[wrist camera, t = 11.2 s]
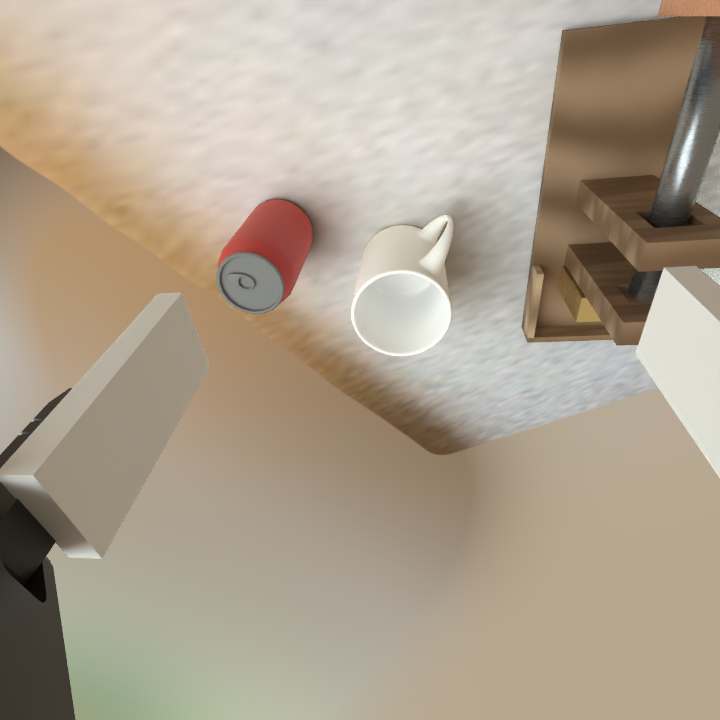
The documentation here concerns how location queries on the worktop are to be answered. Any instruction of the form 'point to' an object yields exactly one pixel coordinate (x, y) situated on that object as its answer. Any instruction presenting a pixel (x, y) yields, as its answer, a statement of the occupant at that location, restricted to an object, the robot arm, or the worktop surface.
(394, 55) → the worktop surface
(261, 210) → the beer can
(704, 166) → the mallet
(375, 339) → the mug
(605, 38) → the wooden stand
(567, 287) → the spacer
